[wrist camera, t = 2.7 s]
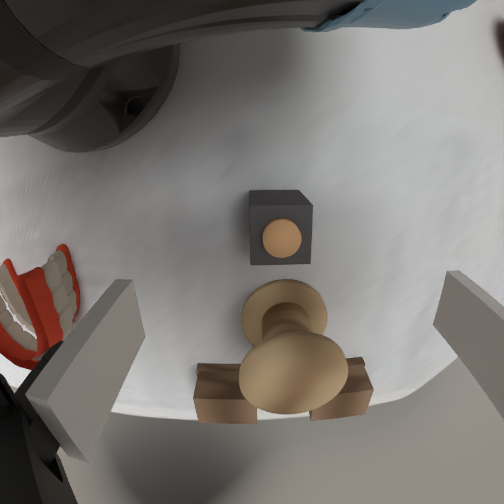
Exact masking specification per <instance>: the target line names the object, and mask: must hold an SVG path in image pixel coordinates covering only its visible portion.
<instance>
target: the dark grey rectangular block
mask: <svg viewBox="0 0 504 504" xmlns="http://www.w3.org/2000/svg"><path fill="white" fill-rule="evenodd" d="M312 214H313V205H312V204H311V203H310V202H309V200H308V199H307V198H306V197H305V196H304V195H303V194H302V193H301V192H300V191H299V190H250V198H249V220H250V261H251V265H285V264H310V261H311V240H312Z"/></svg>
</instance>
